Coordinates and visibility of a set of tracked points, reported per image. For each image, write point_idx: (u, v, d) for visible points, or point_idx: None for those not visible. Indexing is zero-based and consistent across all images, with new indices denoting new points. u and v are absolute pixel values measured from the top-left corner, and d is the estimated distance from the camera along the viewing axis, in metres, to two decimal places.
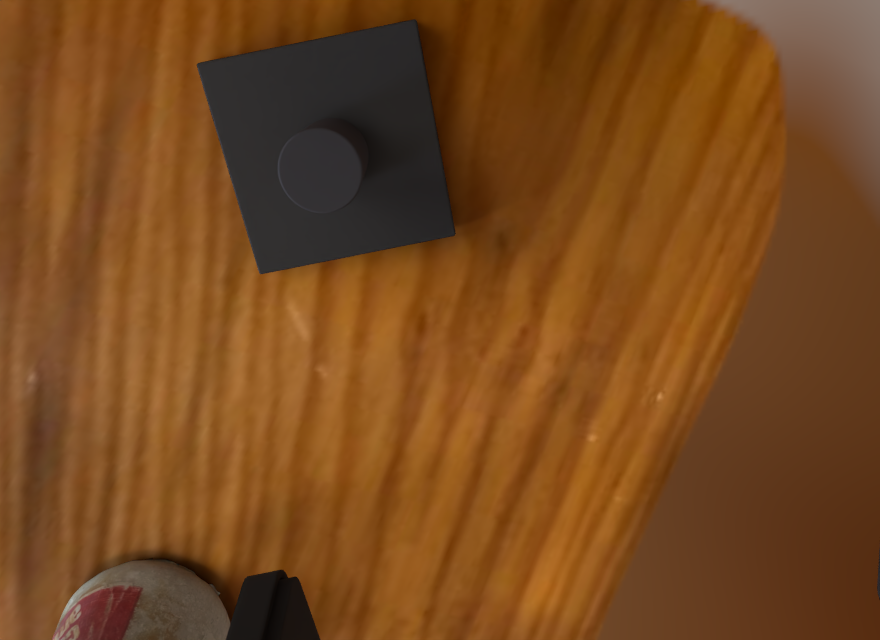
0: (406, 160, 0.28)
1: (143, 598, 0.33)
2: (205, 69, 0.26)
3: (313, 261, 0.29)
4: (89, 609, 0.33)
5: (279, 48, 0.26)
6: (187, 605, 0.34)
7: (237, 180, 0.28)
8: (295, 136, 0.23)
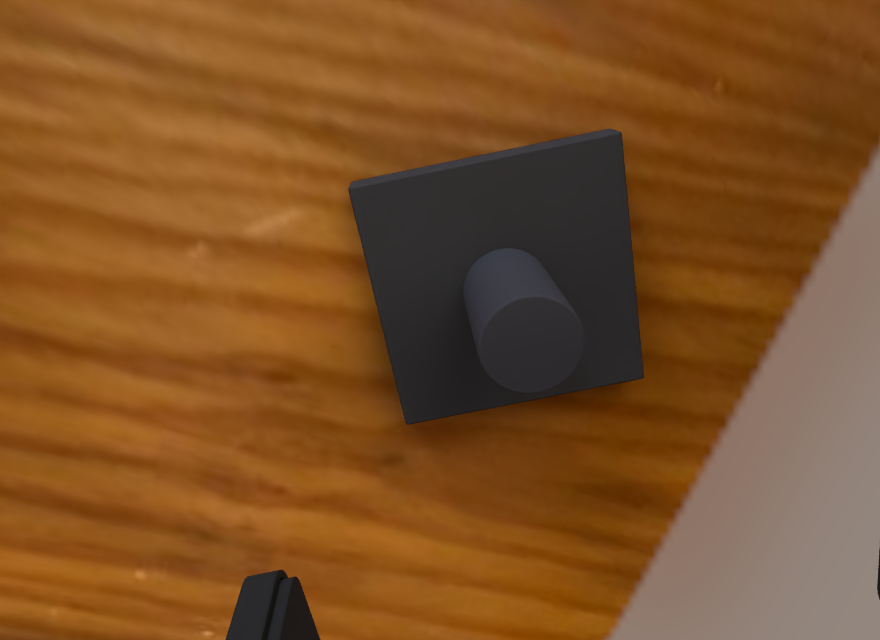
0: None
1: None
2: (614, 142, 0.21)
3: (369, 260, 0.22)
4: None
5: (629, 234, 0.22)
6: None
7: (477, 169, 0.21)
8: (576, 318, 0.18)
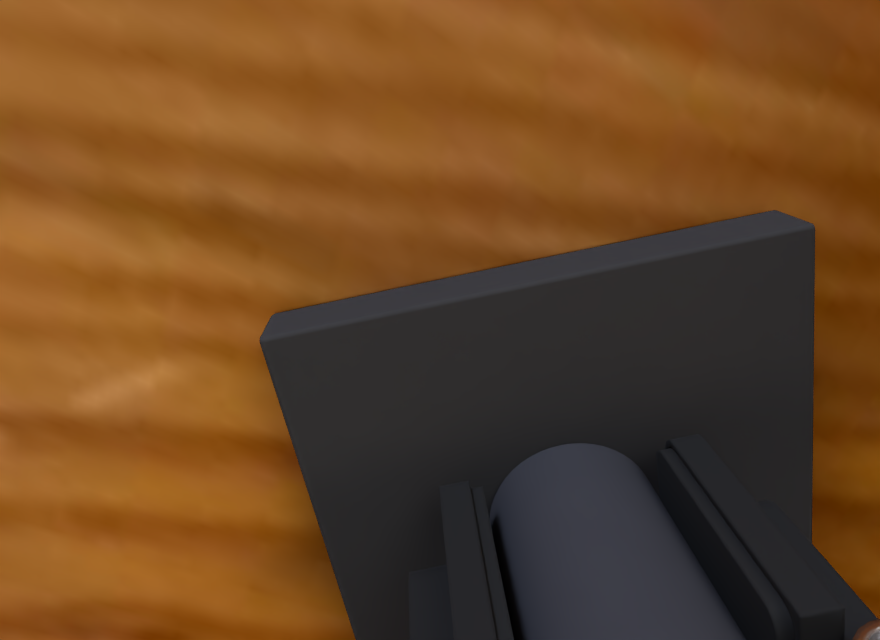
0: None
1: None
2: (799, 246, 0.10)
3: (307, 469, 0.11)
4: None
5: (812, 413, 0.11)
6: None
7: (521, 300, 0.10)
8: None
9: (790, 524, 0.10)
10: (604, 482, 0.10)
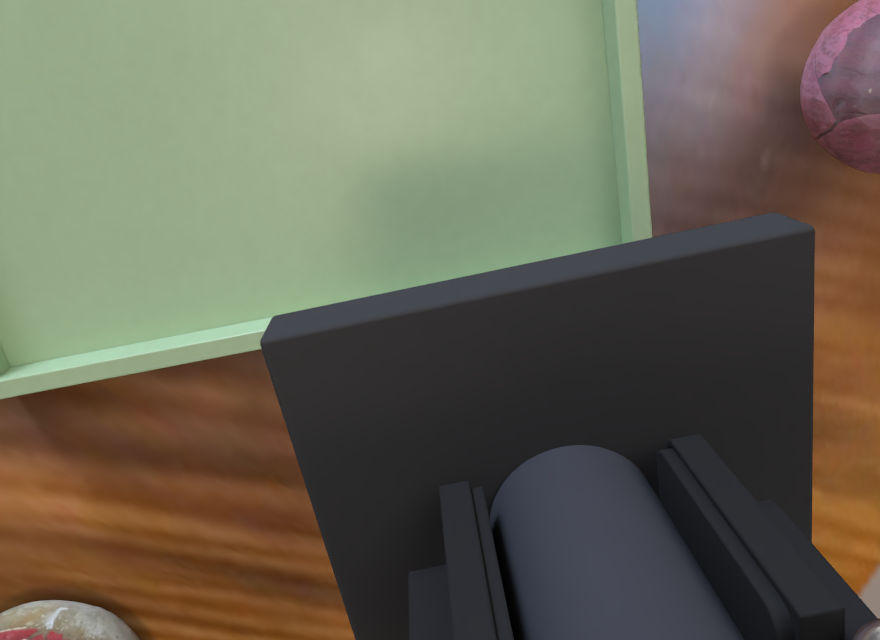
0: None
1: None
2: (799, 248, 0.10)
3: (307, 472, 0.11)
4: None
5: (812, 415, 0.11)
6: None
7: (521, 302, 0.10)
8: None
9: (790, 524, 0.10)
10: (604, 484, 0.10)
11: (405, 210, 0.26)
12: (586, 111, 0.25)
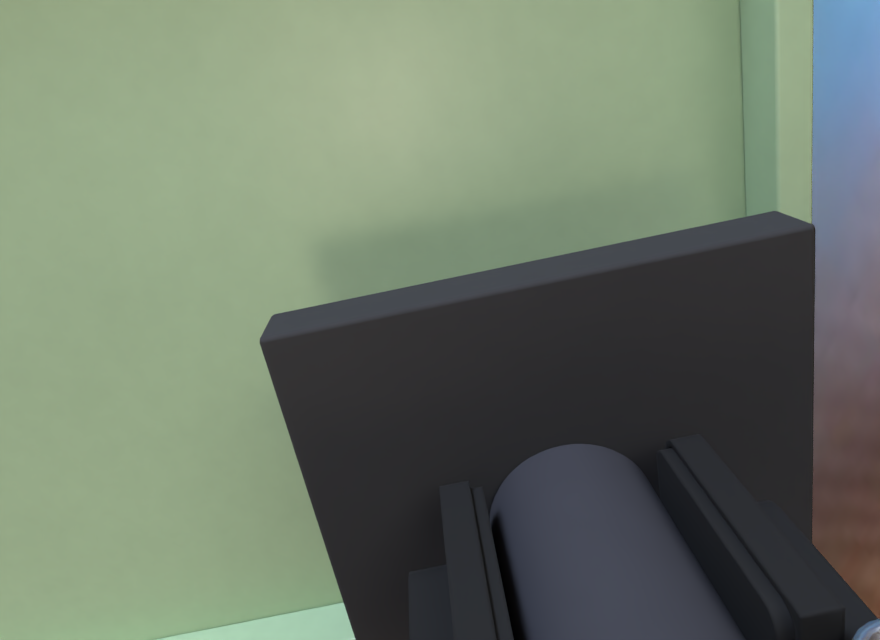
0: None
1: None
2: (799, 246, 0.10)
3: (306, 470, 0.11)
4: None
5: (812, 413, 0.11)
6: None
7: (521, 301, 0.10)
8: None
9: (790, 524, 0.10)
10: (604, 483, 0.10)
11: None
12: None
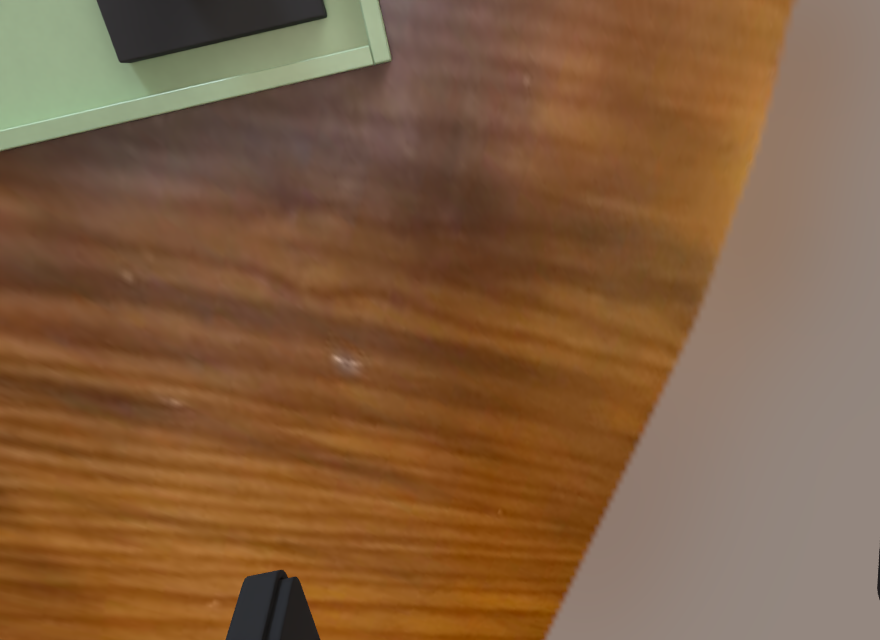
0: (190, 5, 0.27)
1: None
2: None
3: None
4: None
5: None
6: None
7: None
8: None
9: None
10: None
11: None
12: None
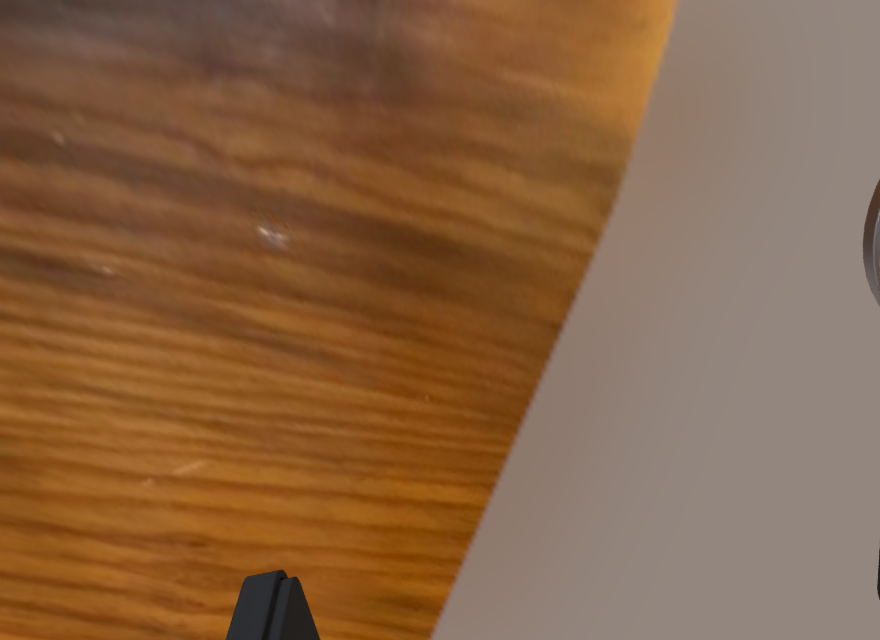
0: None
1: None
2: None
3: None
4: None
5: None
6: None
7: None
8: None
9: None
10: None
11: None
12: None
